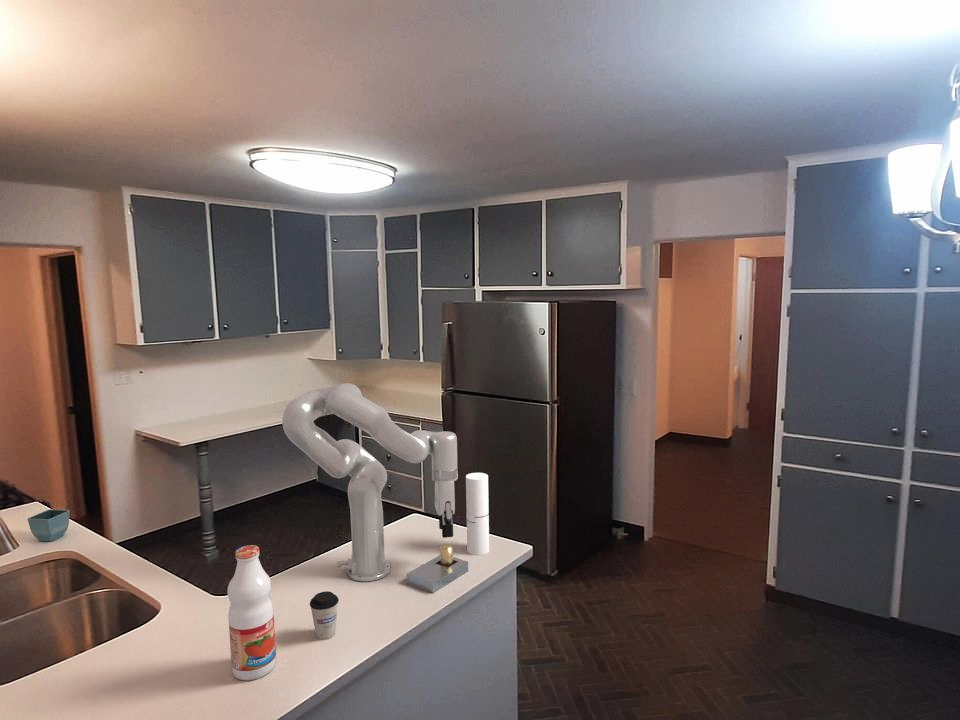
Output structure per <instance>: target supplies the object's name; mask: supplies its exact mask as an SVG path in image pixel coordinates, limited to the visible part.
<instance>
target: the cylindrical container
mask: <svg viewBox="0 0 960 720" xmlns="http://www.w3.org/2000/svg"><path fill="white" fill-rule="evenodd" d="M465 497H466V498H465V499H466V500H465V501H466V503H465V504H466V506H465V507H466V546H467V547H466V551H467V554H469V555H471V556H483V555H486V554H488V553H489V552H490V526H489V525H490V524H489V523H490V519H489V518H490V516H489V515H490V514H489V513H490V512H489V475H488V474H487V473H484V472H471V473H468V474H466V476H465Z"/></svg>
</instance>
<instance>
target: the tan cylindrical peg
mask: <svg viewBox="0 0 960 720" xmlns="http://www.w3.org/2000/svg"><path fill="white" fill-rule="evenodd" d="M439 555H440V563H441V566H444V567H447V568H448V567H450V566H452V565H453V557H454V546H453V544H451V543H444V544H441V545H440V546H439Z"/></svg>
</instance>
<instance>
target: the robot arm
mask: <svg viewBox="0 0 960 720" xmlns="http://www.w3.org/2000/svg"><path fill="white" fill-rule="evenodd" d="M328 415H335V416H337V417H338V418H341V419H342V420H344V421H345V422H347V423H349V424H351V425H353V426H355V427H356V428H358V429H360V430H361V431H363V432H365V433H366V434H368V435H370V437H371V438H372V439H373V440H374V441H376V442H377V443H378V444H379V445H380V446H382V448H384V450H386V451H387V452H390V453H391V454H392V455H395V456H397V458H399V459H401V460H403V461H405V462H408V463H412V464H419V463H422V462H424V461H425V460H426V459H427V457H428V455H430V456H431V472H432V473H431V480H432V481H433V482H434V508H435V510H436V513H437V515H438V521H439V522H438V523H439V530H441V537H442V538H443V539H445V538H453V537H454V523H453V515H455V511H456V506H455V505H456V499H455V495H456V494H455V481H457V480H458V477H459V475H458V474H459V473H458V438H457V435H456V433H455V432H453V431H444V430H443V431H429V430H421V429H420V430H419V429H418V430H414V431H412V432H411V433H409V432H408V431H405V430H404V429H402V428H401V427H399V425H397V424H396V423H395V422H394V421H393V420H392V419H391V417H390V416H389V413H388V411H387V410H386V409H385V408H384V407H383V406H380V405H378V404H377V403H374V402H373V401H372V400H369V399H367V398H366V397H365V396H363V394H362V392H361V389H360V388H359V387H358V386H357V385H355V384H354V383H349V382H346V383H345V382H344V383H341V384H336V385H331V386H327V387H322V388H319V389H314V390H309V391H307V392H306V391H305V392H304V393H302V394H300V395H298V396H296V397H294V398H293V399H292V400H290V401H289V402H288V404H287V405H286V406H285V408H284V410H283V413H282V419H281V421H282V423H281V424H282V428H283V431H284V434H285V435H286V437H287V438H288V440H289V441H290V442H291V443H293V444H294V445H295V446H296V447H297V448H298V449H299V450H301V451H302V452H303V453H304V454H306V456H308V457H309V459H311V460H312V461H313V462H314V463H316V464H317V465H318V466H319V467H320V468H321V469H322V470H324V471H325V472H326V473H327V474H328V475H329V476H331V477H332V478H334V479H335V478H336V479H341V478H345V477H346V476H349V477H351V478H350V480H349V483H348V485H347V498H348V505H349V509H350V510H349V512H350V528H351V529H350V530H351V549H352V550H351V557H350V558H348V559H345V560H337V561H336V564H337V568H340V570H341V571H345V570H347V575H348V577H349V578H350V579H352V580H353V581H357V582H373V581H378V580H380V579H382V578H384V577H386V576H387V575H388V574H390V572H391V565H390V563H389V562H387V561H386V559H385V558H386V557H385V534H384V533H385V530H384V526H385V525H384V510H383V502H382V491H383V489H384V488H385V485H386V483H387V481H388V473H387V470H386V468H385V466H384V465H383V464H382V463H381V462H380V461H379V460H378V459H376V458H375V456H373V455H372V454H371V453H370V452H368V451H367V450H366V449H365V447H363V446H362V445H360V443H357V442H356V441H354V440H352V439H347V438H344V439H339V440H336V439H335V438H334V437H332V435H330V434H329V433H328V432H327V431H326V430H324V429H323V428H320V427H319V426H317V425H316V424H315V422H314V421H315V420H317V419H318V418H320V417H325V416H328Z"/></svg>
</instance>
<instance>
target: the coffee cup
mask: <svg viewBox="0 0 960 720" xmlns="http://www.w3.org/2000/svg"><path fill="white" fill-rule="evenodd" d="M339 600H340V599H339V597H338V596H337V594H334V593H333V592H332V591H327V590H325V591H321V592H318V593H317V594H315V595H314V596H313V597H312V598H311V600H310V601H309V607H310V609H311V615H312V620H313V625H314V633H315V636H316V637H315V638H316V639H318V640H320V641H327V640H330V639H332V638H333V637H334V636H335V635H336V629H337V628H336V627H337V616H338V605H339V604H338V603H339Z"/></svg>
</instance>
